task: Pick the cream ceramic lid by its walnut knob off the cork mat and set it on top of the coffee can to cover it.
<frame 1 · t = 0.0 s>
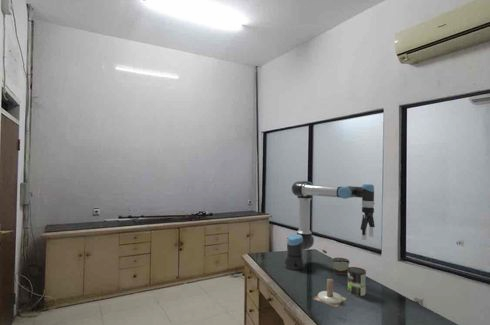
hand: (367, 238, 192), 28 cm above the workbench, fingers open, 13 cm apart
food container: (339, 272, 204), on the workbench
mat: (329, 299, 160), on the workbench
lid: (329, 298, 160), point 1 cm above the workbench, touching mat
coffee can: (356, 293, 169), on the workbench
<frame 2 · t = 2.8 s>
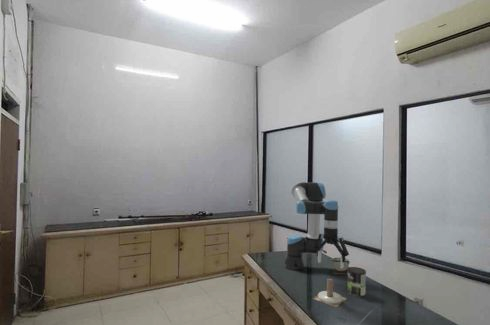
hand: (330, 264, 161), 20 cm above the workbench, fingers open, 13 cm apart
nothing on the workbench moved.
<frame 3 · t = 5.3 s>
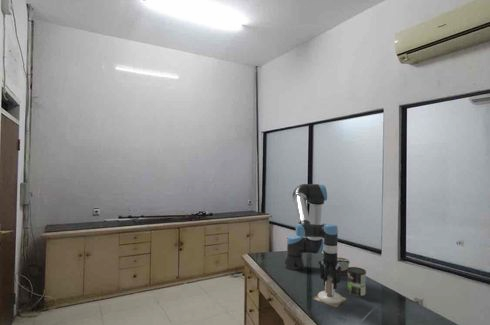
hand: (329, 293, 160), 4 cm above the workbench, fingers closed on lid, 3 cm apart
lid: (329, 298, 160), point 1 cm above the workbench, touching gripper
everything else where it was.
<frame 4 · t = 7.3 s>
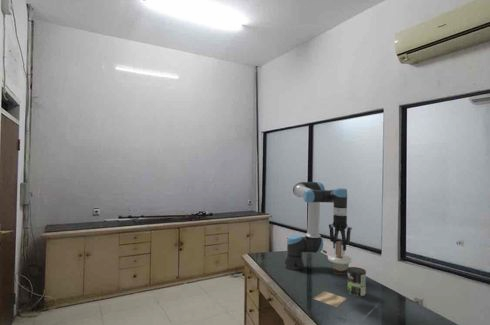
hand: (339, 255, 164), 24 cm above the workbench, fingers closed on lid, 3 cm apart
lid: (339, 260, 164), point 21 cm above the workbench, touching gripper
everything else where it was.
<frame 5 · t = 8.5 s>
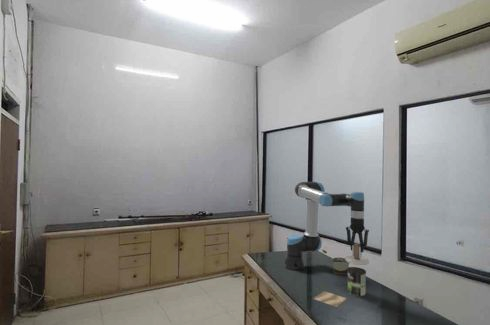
hand: (357, 256, 170), 22 cm above the workbench, fingers closed on lid, 3 cm apart
lid: (356, 261, 169), point 19 cm above the workbench, touching gripper
everything else where it was.
when the fingers open (19 cm above the workbench, at t = 9.5 s): lid drops 2 cm, resting on coffee can.
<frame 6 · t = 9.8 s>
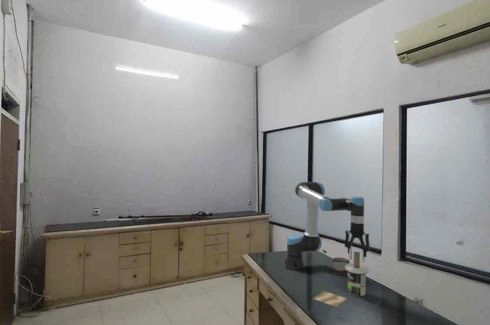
hand: (356, 260, 170), 20 cm above the workbench, fingers open, 7 cm apart
lid: (356, 269, 169), point 14 cm above the workbench, touching coffee can
coffee can: (356, 293, 169), on the workbench, touching lid
everything else where it was.
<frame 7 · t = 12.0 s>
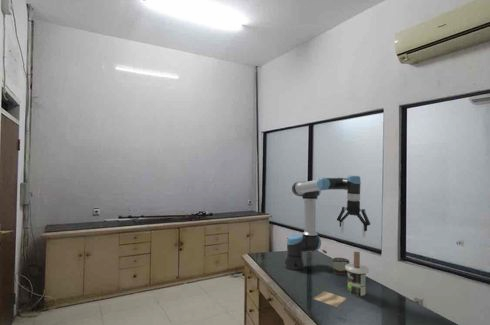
hand: (352, 234, 176), 34 cm above the workbench, fingers open, 13 cm apart
nothing on the workbench moved.
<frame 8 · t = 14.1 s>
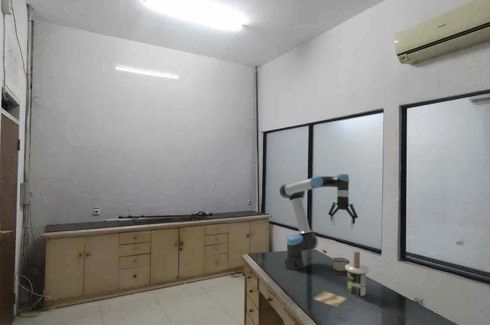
hand: (342, 226, 195), 35 cm above the workbench, fingers open, 13 cm apart
nothing on the workbench moved.
at the end: lid 0.1 cm from the coffee can (horizontally); lid point 14.0 cm above the workbench; lid tilted 0° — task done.
